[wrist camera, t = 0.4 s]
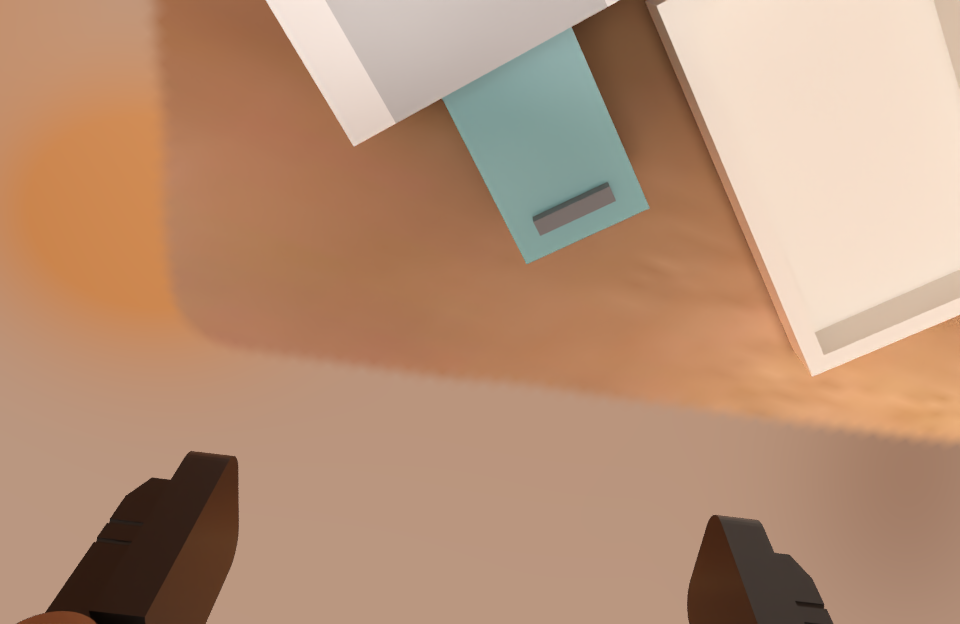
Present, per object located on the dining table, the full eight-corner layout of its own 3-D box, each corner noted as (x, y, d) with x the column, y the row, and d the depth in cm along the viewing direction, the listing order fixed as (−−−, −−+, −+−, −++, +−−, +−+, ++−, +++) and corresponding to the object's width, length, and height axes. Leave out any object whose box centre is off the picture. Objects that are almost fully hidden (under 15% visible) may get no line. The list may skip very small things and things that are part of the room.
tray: (909, -144, 30) (944, -151, 28) (1021, 252, 36) (1057, 273, 34) (644, 1, 32) (656, 5, 30) (792, 350, 38) (812, 376, 36)
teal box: (494, -137, 30) (493, -157, 24) (625, 167, 35) (652, 213, 29) (378, -72, 32) (350, -75, 26) (522, 215, 36) (527, 269, 30)
